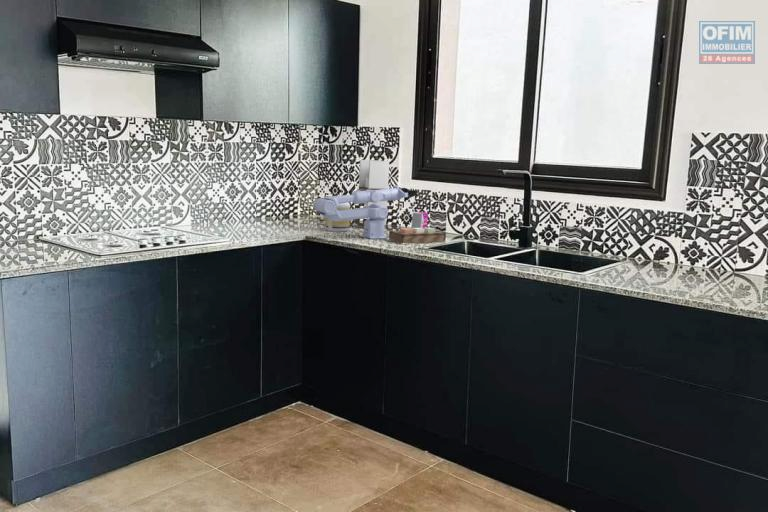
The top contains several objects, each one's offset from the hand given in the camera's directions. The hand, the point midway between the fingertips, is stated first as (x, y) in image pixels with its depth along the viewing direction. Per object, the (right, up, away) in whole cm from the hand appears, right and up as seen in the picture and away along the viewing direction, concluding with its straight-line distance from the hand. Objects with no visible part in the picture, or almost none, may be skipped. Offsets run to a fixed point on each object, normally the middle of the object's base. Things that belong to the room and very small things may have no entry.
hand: (412, 192), depth 335 cm
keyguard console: (+2, -24, -11) cm, 26 cm away
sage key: (+8, -21, -8) cm, 24 cm away
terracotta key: (-3, -22, -14) cm, 26 cm away
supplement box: (+4, -21, +9) cm, 23 cm away
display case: (-20, -17, +27) cm, 37 cm away
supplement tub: (-37, -18, +10) cm, 43 cm away
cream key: (+2, -22, -11) cm, 24 cm away
